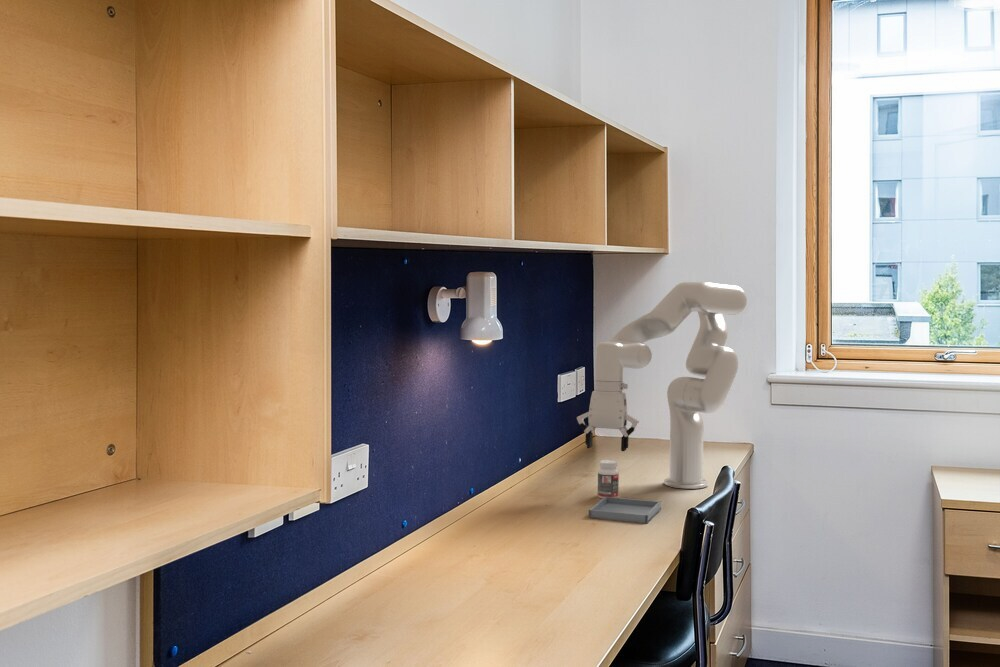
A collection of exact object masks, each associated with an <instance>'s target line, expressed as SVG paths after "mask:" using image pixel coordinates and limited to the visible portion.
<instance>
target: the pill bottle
mask: <svg viewBox="0 0 1000 667" xmlns="http://www.w3.org/2000/svg"><path fill="white" fill-rule="evenodd" d="M599 466H600V468H599V469H598V470H597V498H600V499H601V500H602V499H603V498H605V497H616V498H619V479H620V477H619V475H620V474H619V470H618V469H617V467H618V462H617V461H616V460H611V459H603V460H600V461H599Z"/></svg>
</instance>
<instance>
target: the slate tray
mask: <svg viewBox="0 0 1000 667" xmlns="http://www.w3.org/2000/svg"><path fill="white" fill-rule="evenodd" d="M661 510H662V501H658V500H648V499H647V500H646V499H635V498H625V497H617V498H616V497H605V498H603V499H602V498H601V499H600V501H599V502H597V503H596V504H594V505H593V506H592V507H590V508H589V509H588V518H589V519H597V520H598V519H599V520H608V521H617V522H618V521H619V522H629V523H638V524H639V523H640V524H649V522H650V521H652V519H653V518H654V517H655V516H656V515H657V514H658V513H660V511H661Z"/></svg>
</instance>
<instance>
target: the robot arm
mask: <svg viewBox="0 0 1000 667" xmlns="http://www.w3.org/2000/svg"><path fill="white" fill-rule="evenodd" d="M747 302H748V298H747V294H746V292H745V290H743V288H741V287H740V286H738V285H732V284H723V283H721V284H720V283H714V282H706V281H683V282H680V283H678V284H675V286H674V287H673V288H672V289H671V290H670V291H669V292H668V293H667V294H666V295H665V296H664V297H663V298H662V299H661V300H660V301H659V302H658V303H657V305H656V306H655V307H654V308H653V309H652V310H651V311H650V312H648V313H645V314H644V315H642V316H639V317H638V318H637V319H635V320H633V321H631V322H629V323H627V324H626V325H625V326H623V327H622V328H620V330H619V331H618V332H617V333H616V334H615V335H614V336H613V337H612V338H611V339H610V340H609V341H600V342H598V343H597V345H596V348H595V368H594V369H595V372H594V374H595V375H594V390H593V391H592V392H591V396H590V401H589V402H590V403H589V408H588V409H589V410H588V411H587V412H585V413H582V414H581V415H579V416H576V420H577V423H578V424H579V428H580V429H581V430H582V431H583V433H584V434H585V443H584V444H585V445H586V449H590V448H592V447H593V445H594V444H593V441H594V440H593V439H594V438H593V437H594V433H593V432H592V431H593V430H594V429H595V428H597V429H605V430H606V429H607V430H608V429H609V430H619V431H620V433H621V434H622V437H620V438H621V444H620V446H621V447H620V451H621V452H626V451H627V449H629V438H630V437H629V436H630V435H631V434H632V433H633V432H634V431H636V428H637V427H638V425H639V423H640V421H639V420H638V419H636V418H635V417H633V416H632V415H630V414H628V405H627V403H628V402H627V395H626V392H625V391H624V390H627V389H628V387H629V385H628V383H625V382H624V381H623V379H624V378H623V377H624V368H625V369H626V368H627V369H635V370H640V369H643V368H645V367H647V366H648V365H649V364H650V362H651V360H652V357H653V356H652V355H653V353H652V351H651V348H650V347H649V346H648V345H647V344H645V342H648V341H651V340H655V339H660V338H662V337H666V336H668V335H671V334H672V333H673V332H674V331H675V330H676V329H677V328H678V327H679V326H680V325H681V324H682V323H683V322H684V320H686V318H687V317H688V316H689V315H690V314H691V313H693V312H694V313H695V312H697V315H698V318H699V327H698V328H699V329H698V331H697V334H696V337H695V338H694V341H693V342H692V343H693V344H692V345H691V347H690V350H689V352H688V354H687V357H686V361H685V368H686V371H687V372H688V373H690V374H691V375H694V376H696V377H694V376H692V377H691V376H679V377H675V379H673V380H672V381H671V382H670V383H669V385H668V387H667V391H666V397H667V402H668V408H669V420H670V422H669V424H670V426H669V427H670V428H669V431H670V432H669V477H666V478H664V479H663V484H664V485H665V486H668V487H670V488H675V489H684V490H685V489H686V490H689V489H693V490H694V489H703V488H706V487H708V486H709V482H708V480H706V479H705V478H703V472H704V471H703V470H704V467H703V466H704V420H703V417H702V414H701V413H705V414H714V413H716V412H718V411H719V410H720V409H721V408H722V406H723V405H724V403H725V400H726V398H727V396H728V394H729V391H730V388H731V387H732V386H733V385H732V384H733V382H734V381H735V380H734V379H735V378H736V374H737V372H738V369H739V359H738V356H737V353H736V352H735V350H733V349H732V348H730V347H728V346H725V344H726V342H727V339H728V335H729V331H728V325H727V322H726V319H725V316H724V315H726V316H736V315H739V314H740V313H741V312H742V313H743V311H744V310H745V308H746V306H747ZM699 377H702V378H699ZM586 418H587V419H588V425H587V424H586V423H585V421H584V419H586ZM628 422H630V423H631V425H630V427H629V429H628V427H627V425H628Z"/></svg>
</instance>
